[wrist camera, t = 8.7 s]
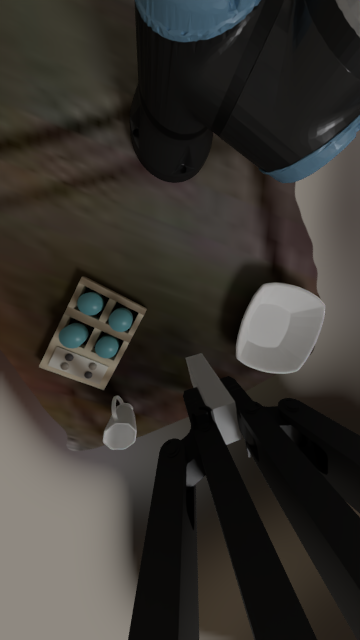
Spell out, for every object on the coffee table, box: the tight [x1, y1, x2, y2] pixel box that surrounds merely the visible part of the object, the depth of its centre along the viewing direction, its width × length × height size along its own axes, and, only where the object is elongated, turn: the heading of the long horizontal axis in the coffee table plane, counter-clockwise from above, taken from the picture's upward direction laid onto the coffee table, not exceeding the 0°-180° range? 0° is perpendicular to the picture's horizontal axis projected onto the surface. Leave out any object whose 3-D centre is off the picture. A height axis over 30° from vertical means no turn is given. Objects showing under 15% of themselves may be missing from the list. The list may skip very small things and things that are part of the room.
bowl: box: [236, 282, 325, 374], centre depth 45 cm, size 22×22×5 cm
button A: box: [77, 292, 105, 315], centre depth 37 cm, size 4×4×3 cm
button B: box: [109, 308, 133, 332], centre depth 37 cm, size 4×4×3 cm
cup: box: [103, 395, 137, 450], centre depth 41 cm, size 7×10×8 cm
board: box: [39, 277, 147, 390], centre depth 39 cm, size 21×14×2 cm, turn 150°
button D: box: [95, 334, 119, 358], centre depth 39 cm, size 4×4×3 cm
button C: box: [59, 323, 89, 348], centre depth 36 cm, size 4×4×3 cm
